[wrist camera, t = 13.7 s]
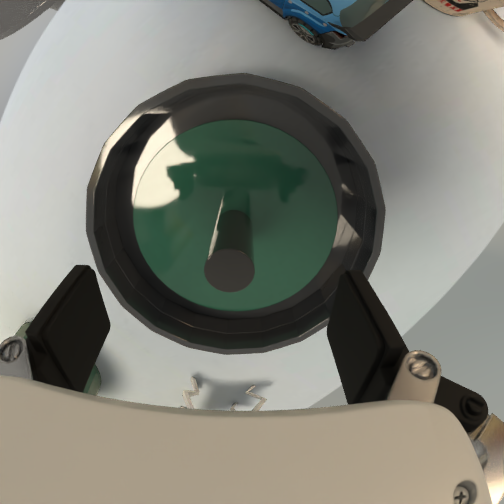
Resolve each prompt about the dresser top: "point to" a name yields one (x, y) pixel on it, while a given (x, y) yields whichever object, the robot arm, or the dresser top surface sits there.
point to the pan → (209, 110)
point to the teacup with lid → (470, 8)
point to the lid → (235, 215)
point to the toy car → (336, 18)
